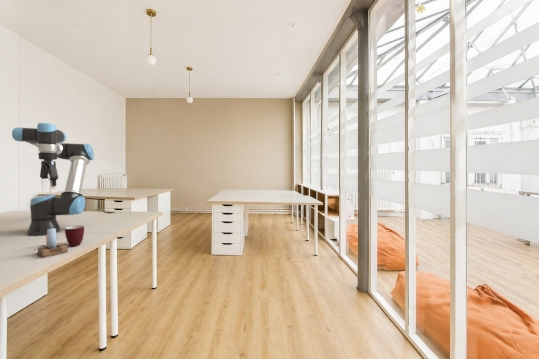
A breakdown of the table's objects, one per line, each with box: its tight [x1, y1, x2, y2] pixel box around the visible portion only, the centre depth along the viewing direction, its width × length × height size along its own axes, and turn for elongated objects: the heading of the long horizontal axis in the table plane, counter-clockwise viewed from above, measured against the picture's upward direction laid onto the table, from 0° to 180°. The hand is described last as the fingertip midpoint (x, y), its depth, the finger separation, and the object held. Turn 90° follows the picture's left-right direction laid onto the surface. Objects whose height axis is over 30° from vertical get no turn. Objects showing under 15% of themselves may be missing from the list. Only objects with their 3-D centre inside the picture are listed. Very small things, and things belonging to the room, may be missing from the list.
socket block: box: [37, 242, 69, 258], centre depth 122 cm, size 9×9×3 cm
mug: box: [64, 224, 85, 247], centre depth 135 cm, size 10×8×10 cm
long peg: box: [47, 228, 58, 249], centre depth 122 cm, size 3×3×12 cm
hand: (49, 191), depth 136 cm, fingers open, 13 cm apart
